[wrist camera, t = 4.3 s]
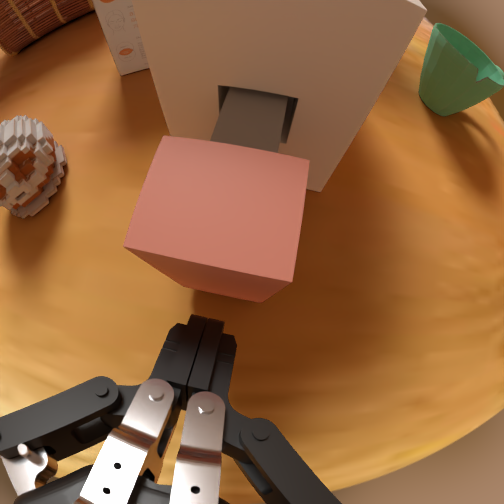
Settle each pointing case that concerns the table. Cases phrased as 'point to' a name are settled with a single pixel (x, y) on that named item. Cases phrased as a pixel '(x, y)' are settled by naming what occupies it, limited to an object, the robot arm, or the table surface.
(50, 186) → the decorative ornament
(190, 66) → the box
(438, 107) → the mug
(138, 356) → the table surface
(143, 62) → the small box
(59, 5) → the picnic basket
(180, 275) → the key
